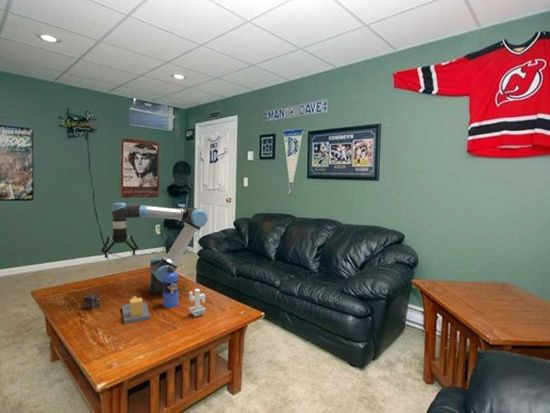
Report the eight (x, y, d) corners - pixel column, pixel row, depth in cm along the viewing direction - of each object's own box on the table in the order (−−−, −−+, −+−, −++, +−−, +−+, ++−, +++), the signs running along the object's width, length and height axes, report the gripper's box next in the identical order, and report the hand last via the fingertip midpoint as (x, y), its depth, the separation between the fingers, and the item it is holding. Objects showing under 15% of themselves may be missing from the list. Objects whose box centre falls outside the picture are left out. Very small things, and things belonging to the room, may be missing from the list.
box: (91, 309, 181) (91, 297, 180) (83, 308, 182) (82, 296, 181) (99, 305, 187) (99, 294, 186) (91, 304, 188) (90, 293, 187)
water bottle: (181, 304, 190) (181, 265, 188) (167, 309, 184) (167, 268, 182) (173, 300, 197) (173, 262, 195) (160, 304, 190) (159, 265, 188)
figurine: (207, 314, 178) (207, 289, 176) (192, 318, 172) (192, 293, 170) (202, 310, 183) (202, 286, 182) (187, 314, 177) (187, 289, 176)
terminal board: (145, 304, 189) (145, 292, 189) (150, 319, 170) (149, 305, 170) (122, 308, 183) (121, 295, 182) (124, 323, 164) (123, 309, 163)
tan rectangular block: (141, 311, 176) (141, 297, 175) (142, 315, 171) (142, 301, 170) (130, 313, 173) (129, 299, 172) (131, 317, 168) (130, 303, 167)
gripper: (141, 225, 196) (141, 258, 198) (96, 228, 184) (97, 262, 186) (142, 227, 190) (142, 260, 191) (96, 230, 177) (97, 265, 179)
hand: (120, 261), depth 189 cm, fingers open, 13 cm apart
